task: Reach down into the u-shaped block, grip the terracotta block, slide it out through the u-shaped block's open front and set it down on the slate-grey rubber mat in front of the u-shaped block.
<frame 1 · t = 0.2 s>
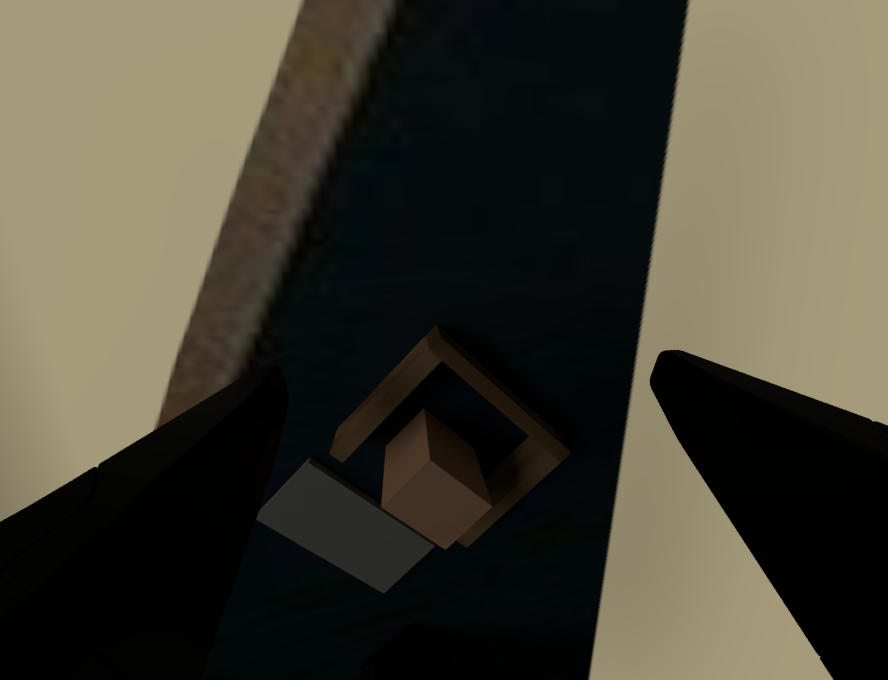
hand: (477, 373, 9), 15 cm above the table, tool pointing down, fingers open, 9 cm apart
grey mat: (350, 526, 28), on the table
u-shaped block: (449, 428, 26), on the table
terracotta block: (430, 446, 27), on the table
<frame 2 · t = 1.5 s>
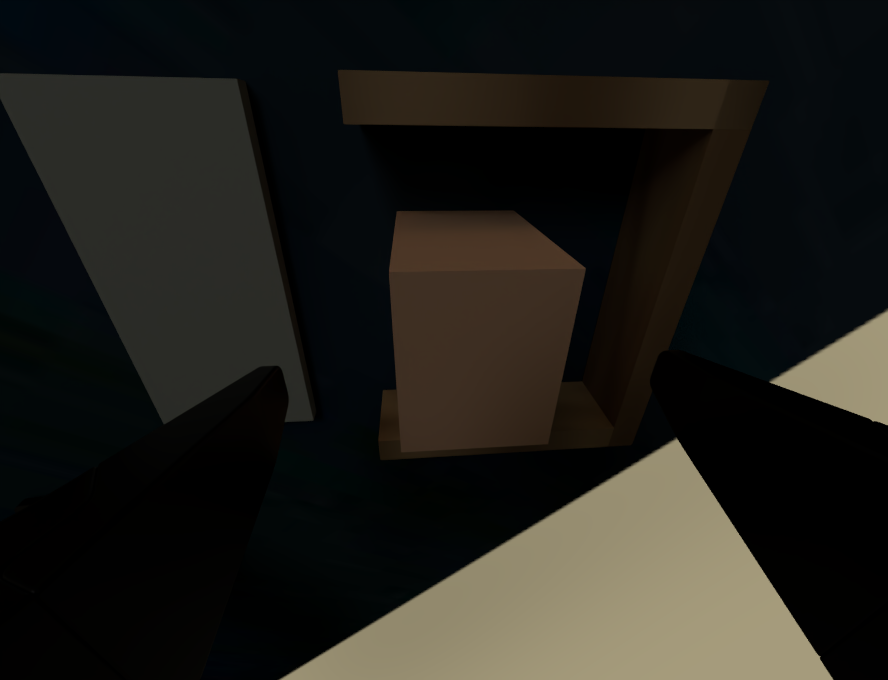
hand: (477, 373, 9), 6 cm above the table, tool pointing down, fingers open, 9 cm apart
grey mat: (201, 285, 13), on the table
u-shaped block: (506, 279, 14), on the table
terracotta block: (454, 279, 14), on the table
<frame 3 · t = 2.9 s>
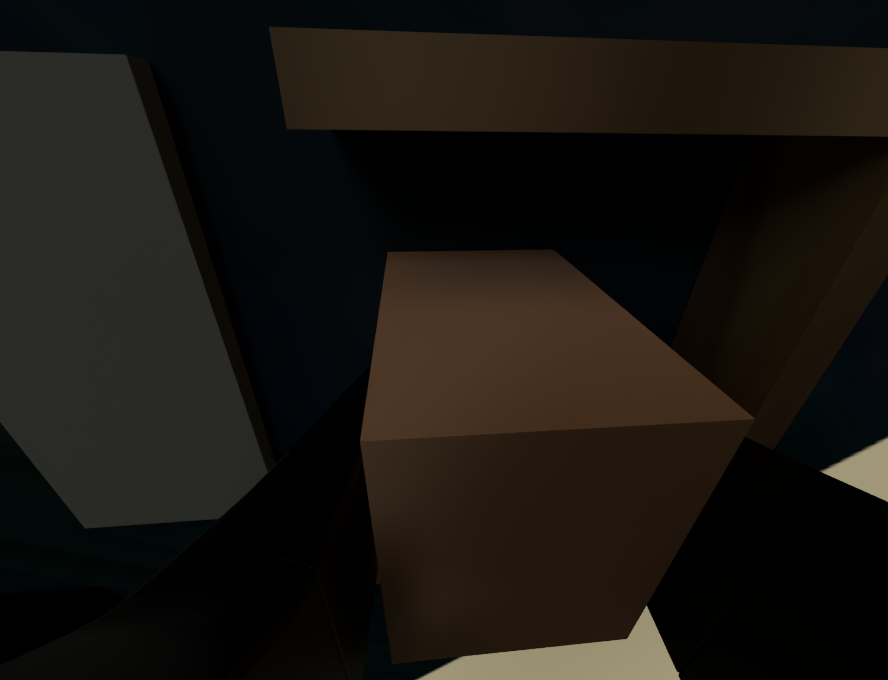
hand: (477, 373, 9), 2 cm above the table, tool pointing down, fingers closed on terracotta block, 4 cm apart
grey mat: (116, 353, 9), on the table
u-shaped block: (539, 338, 10), on the table
terracotta block: (467, 340, 10), on the table, touching gripper
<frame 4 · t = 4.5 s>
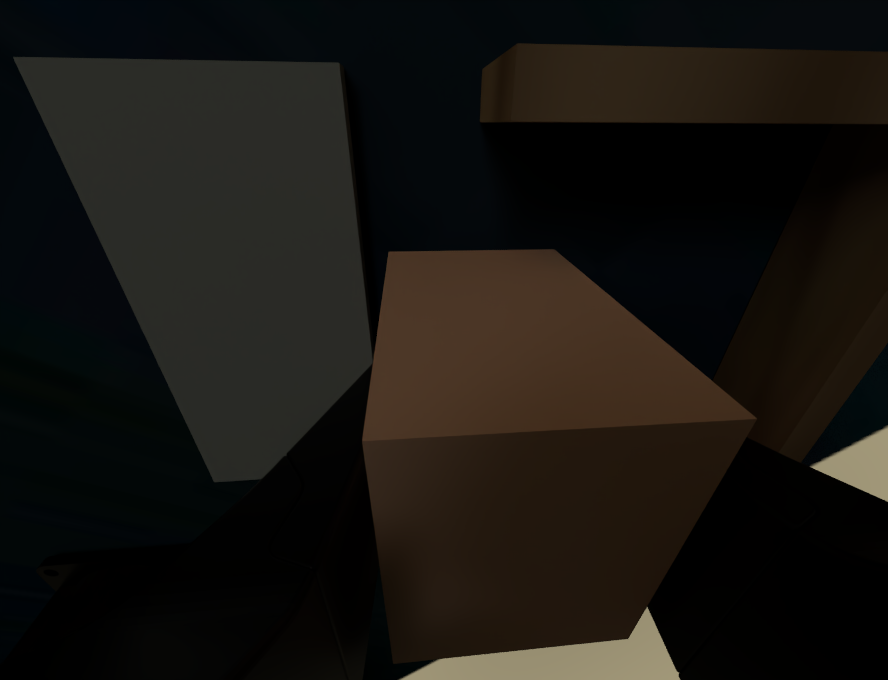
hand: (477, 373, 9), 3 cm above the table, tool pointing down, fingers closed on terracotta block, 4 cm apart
grey mat: (266, 320, 11), on the table
u-shaped block: (628, 308, 11), on the table
terracotta block: (468, 340, 10), point 1 cm above the table, touching gripper
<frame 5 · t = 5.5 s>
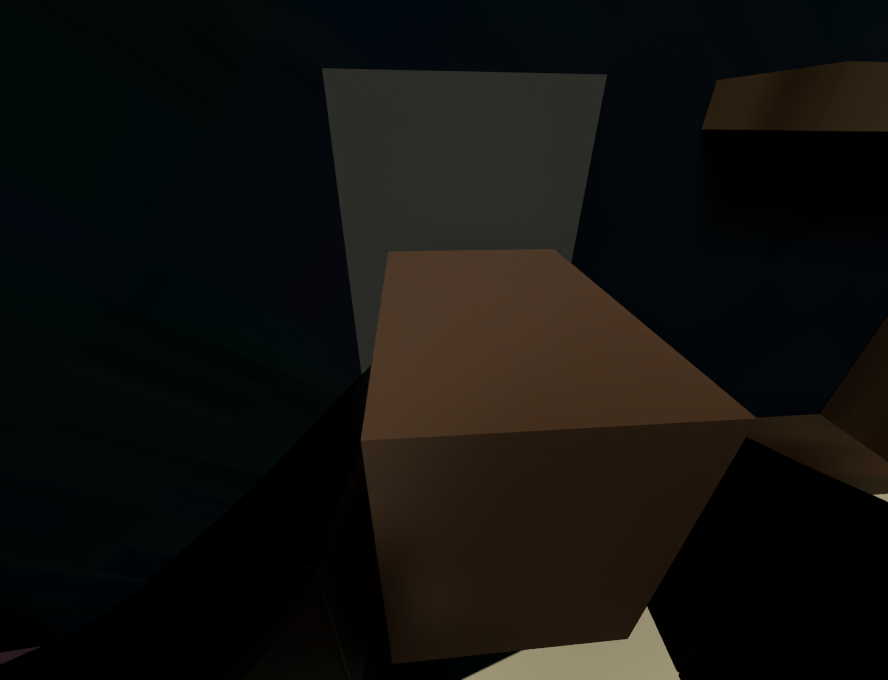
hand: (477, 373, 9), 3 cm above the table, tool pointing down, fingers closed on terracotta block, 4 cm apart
grey mat: (457, 316, 11), on the table
u-shaped block: (788, 305, 12), on the table
terracotta block: (467, 340, 10), point 1 cm above the table, touching gripper
when the fingers open (3 cm above the table, at t = 6.2 s): terracotta block stays where it is, resting on grey mat.
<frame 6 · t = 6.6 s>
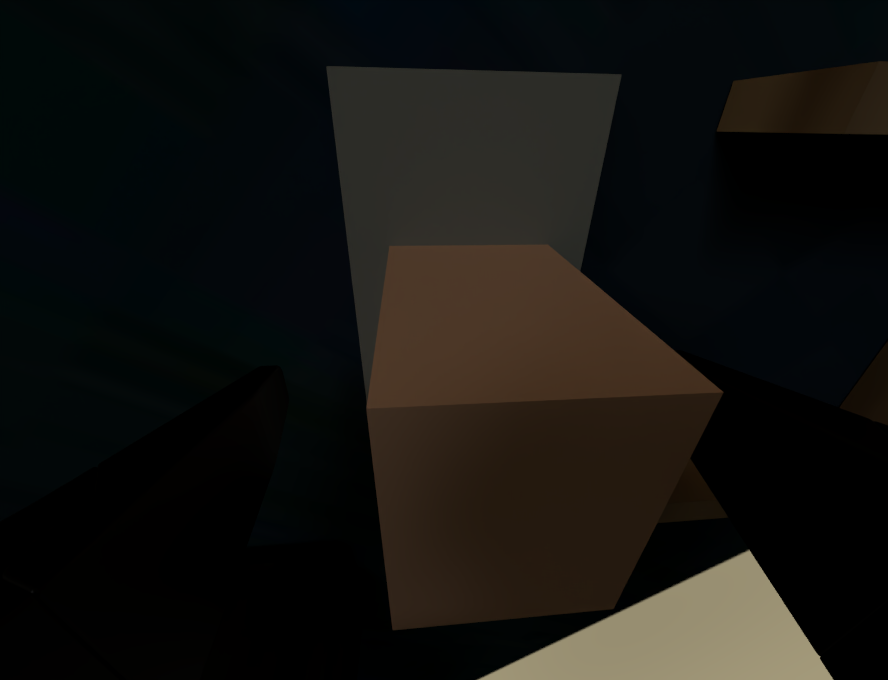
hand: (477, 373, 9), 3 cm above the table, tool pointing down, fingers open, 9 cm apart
grey mat: (463, 321, 11), on the table
u-shaped block: (800, 311, 12), on the table
terracotta block: (465, 332, 10), point 1 cm above the table, touching grey mat
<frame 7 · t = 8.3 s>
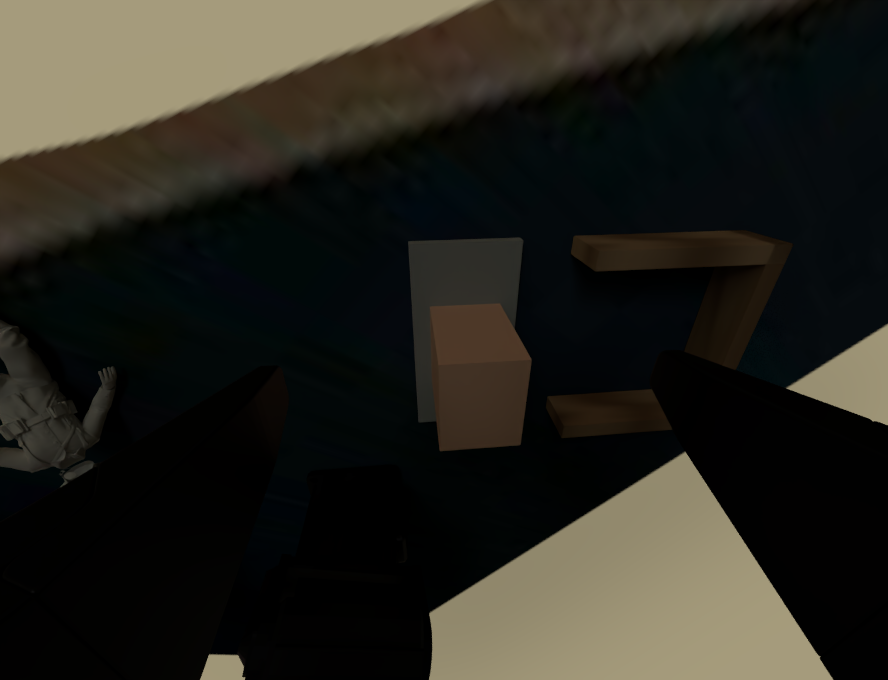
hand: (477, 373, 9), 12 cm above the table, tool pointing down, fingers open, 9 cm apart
grey mat: (462, 337, 22), on the table
u-shaped block: (634, 328, 23), on the table
soldier figure: (49, 372, 21), on the table
terracotta block: (464, 343, 22), point 1 cm above the table, touching grey mat
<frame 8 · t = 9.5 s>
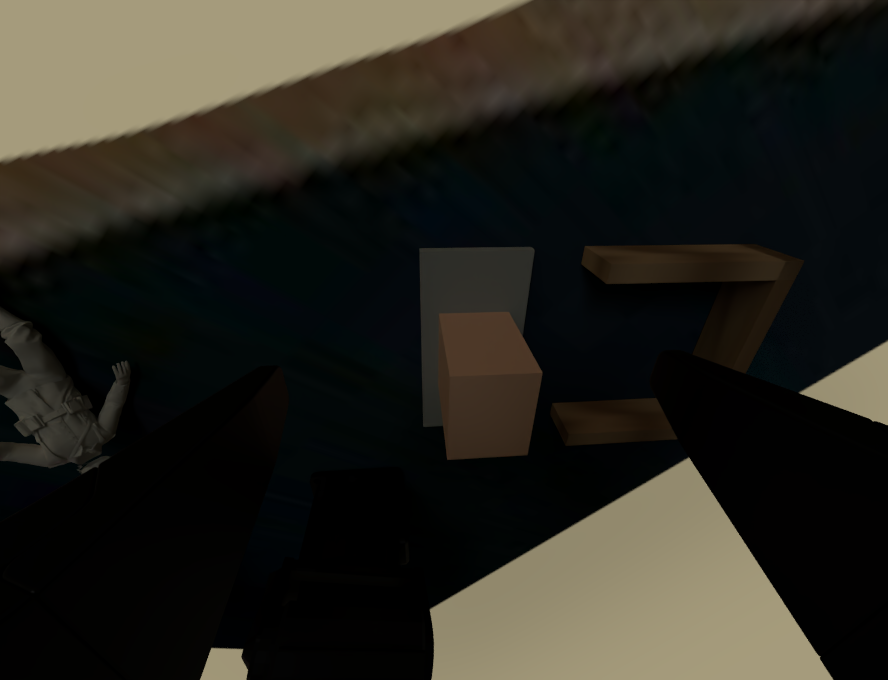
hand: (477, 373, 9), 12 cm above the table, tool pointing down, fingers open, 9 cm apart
grey mat: (470, 344, 22), on the table
u-shaped block: (640, 338, 23), on the table
soldier figure: (64, 367, 21), on the table
terracotta block: (471, 350, 22), point 1 cm above the table, touching grey mat
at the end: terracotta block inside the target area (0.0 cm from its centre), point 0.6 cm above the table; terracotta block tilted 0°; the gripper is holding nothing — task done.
